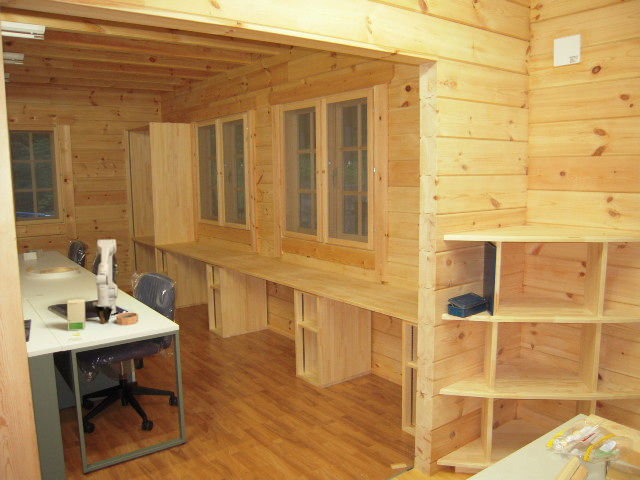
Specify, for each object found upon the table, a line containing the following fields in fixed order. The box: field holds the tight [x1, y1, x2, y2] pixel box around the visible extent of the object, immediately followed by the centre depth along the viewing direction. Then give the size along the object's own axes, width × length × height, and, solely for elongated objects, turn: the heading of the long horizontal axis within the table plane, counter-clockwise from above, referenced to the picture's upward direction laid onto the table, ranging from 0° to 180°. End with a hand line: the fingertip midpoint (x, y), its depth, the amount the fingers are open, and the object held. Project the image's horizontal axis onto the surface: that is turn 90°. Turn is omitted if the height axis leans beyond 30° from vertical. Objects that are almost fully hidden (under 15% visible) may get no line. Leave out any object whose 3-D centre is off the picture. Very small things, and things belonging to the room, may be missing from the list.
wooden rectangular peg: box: [99, 311, 110, 325], centre depth 301 cm, size 2×4×7 cm, turn 155°
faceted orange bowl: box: [115, 312, 139, 326], centre depth 303 cm, size 11×11×4 cm
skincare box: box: [66, 298, 86, 332], centre depth 290 cm, size 8×7×16 cm
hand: (104, 319), depth 301 cm, fingers open, 4 cm apart
